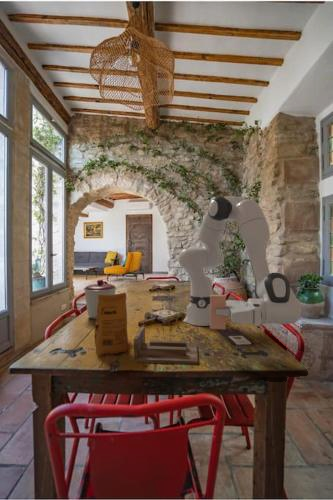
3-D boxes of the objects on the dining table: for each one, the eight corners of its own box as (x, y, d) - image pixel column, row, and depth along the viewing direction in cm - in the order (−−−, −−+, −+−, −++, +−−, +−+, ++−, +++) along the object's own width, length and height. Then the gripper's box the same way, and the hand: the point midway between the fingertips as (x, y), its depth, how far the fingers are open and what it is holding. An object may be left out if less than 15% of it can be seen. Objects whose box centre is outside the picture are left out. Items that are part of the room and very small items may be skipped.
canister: (120, 313, 165) (120, 277, 164) (111, 321, 147) (111, 281, 146) (90, 312, 166) (90, 277, 166) (78, 321, 148) (78, 281, 148)
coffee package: (94, 347, 111) (94, 292, 110) (125, 344, 114) (125, 290, 113) (94, 356, 101) (94, 296, 101) (128, 353, 104) (128, 294, 104)
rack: (142, 345, 112) (142, 325, 112) (196, 347, 110) (196, 326, 110) (133, 361, 97) (133, 339, 96) (197, 364, 95) (197, 340, 94)
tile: (209, 326, 103) (209, 294, 103) (224, 327, 103) (225, 295, 102) (210, 328, 101) (210, 296, 101) (225, 329, 100) (225, 296, 100)
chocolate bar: (237, 329, 132) (254, 342, 114) (237, 331, 132) (254, 345, 114) (219, 330, 130) (232, 343, 113) (219, 332, 130) (232, 346, 113)
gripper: (248, 296, 111) (212, 296, 112) (261, 308, 90) (218, 308, 92) (247, 312, 111) (212, 311, 112) (260, 328, 91) (217, 327, 92)
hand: (215, 310), depth 102 cm, fingers closed on tile, 2 cm apart
